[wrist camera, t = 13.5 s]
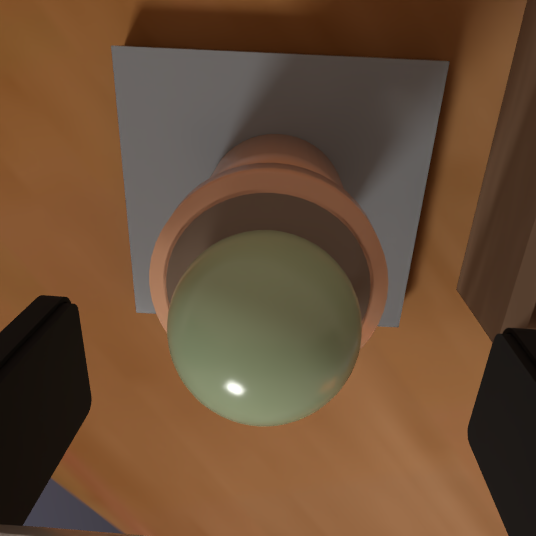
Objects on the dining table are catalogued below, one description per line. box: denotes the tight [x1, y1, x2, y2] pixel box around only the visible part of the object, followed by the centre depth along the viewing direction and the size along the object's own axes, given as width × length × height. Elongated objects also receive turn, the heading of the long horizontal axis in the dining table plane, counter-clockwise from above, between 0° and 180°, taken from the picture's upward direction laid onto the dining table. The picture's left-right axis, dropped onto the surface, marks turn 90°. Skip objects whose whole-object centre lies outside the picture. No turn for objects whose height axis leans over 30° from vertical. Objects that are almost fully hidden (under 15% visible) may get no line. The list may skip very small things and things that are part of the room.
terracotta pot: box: [149, 134, 388, 426], centre depth 15 cm, size 7×7×12 cm
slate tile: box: [111, 46, 450, 327], centre depth 21 cm, size 13×12×2 cm
